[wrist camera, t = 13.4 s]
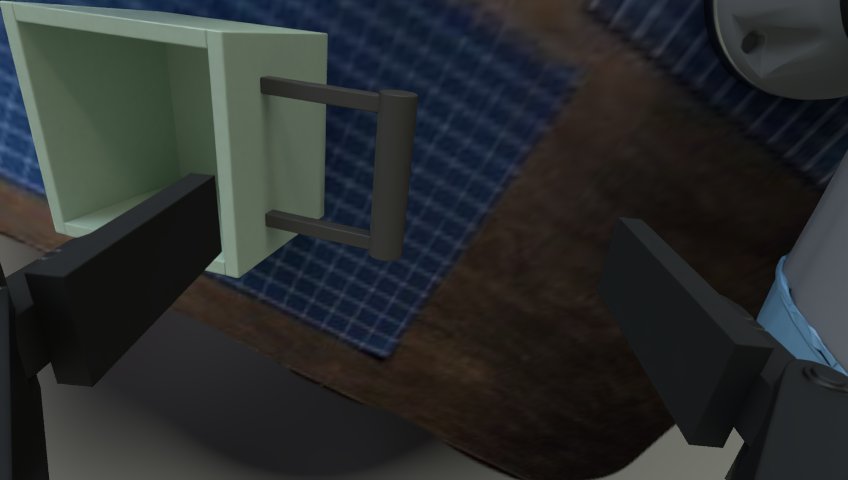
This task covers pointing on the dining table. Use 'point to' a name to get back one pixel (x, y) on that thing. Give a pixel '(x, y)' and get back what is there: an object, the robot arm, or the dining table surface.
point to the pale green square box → (198, 124)
